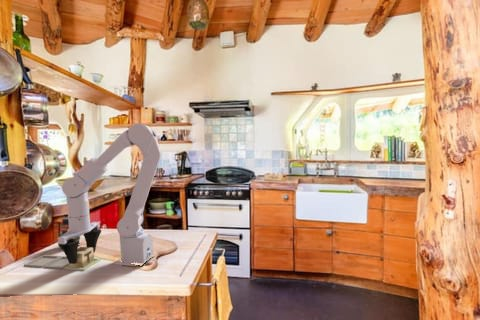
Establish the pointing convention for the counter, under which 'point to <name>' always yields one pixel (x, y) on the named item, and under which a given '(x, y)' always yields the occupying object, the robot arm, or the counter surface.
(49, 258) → the far dish
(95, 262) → the green dish
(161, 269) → the counter surface
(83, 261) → the letter block
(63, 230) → the supplement bottle
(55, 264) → the middle dish
